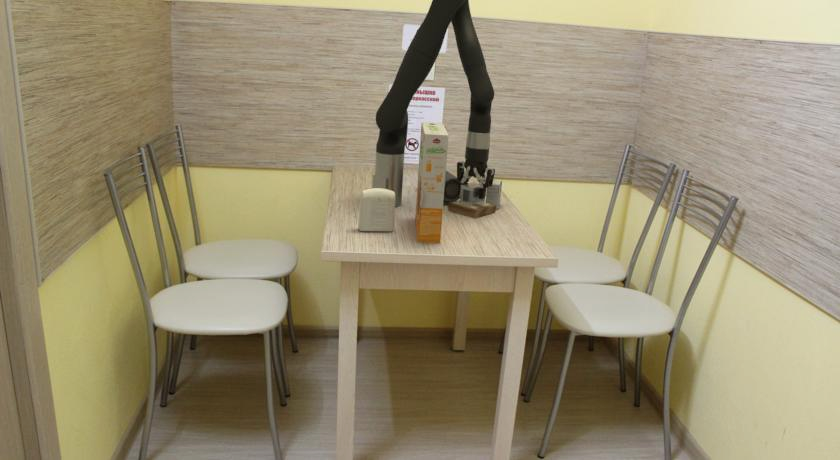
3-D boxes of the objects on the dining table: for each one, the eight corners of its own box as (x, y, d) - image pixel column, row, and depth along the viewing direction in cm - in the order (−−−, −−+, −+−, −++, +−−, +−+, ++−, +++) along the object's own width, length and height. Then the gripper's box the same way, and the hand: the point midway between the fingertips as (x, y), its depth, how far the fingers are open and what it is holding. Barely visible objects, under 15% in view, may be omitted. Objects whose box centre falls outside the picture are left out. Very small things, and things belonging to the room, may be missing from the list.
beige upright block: (392, 227, 198) (394, 186, 194) (395, 232, 194) (397, 190, 190) (357, 228, 195) (359, 186, 192) (359, 232, 191) (361, 190, 188)
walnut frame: (474, 218, 214) (475, 209, 213) (448, 210, 221) (448, 202, 220) (495, 212, 222) (495, 204, 221) (468, 205, 229) (469, 197, 228)
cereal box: (415, 219, 208) (421, 122, 200) (435, 220, 209) (442, 123, 200) (417, 241, 187) (424, 134, 178) (440, 242, 187) (448, 135, 178)
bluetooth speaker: (464, 205, 229) (466, 176, 226) (438, 206, 226) (441, 176, 223) (439, 189, 249) (441, 162, 246) (416, 189, 246) (417, 162, 243)
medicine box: (497, 210, 225) (500, 184, 223) (484, 208, 226) (487, 183, 224) (500, 204, 233) (502, 180, 230) (487, 203, 234) (489, 178, 231)
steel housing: (471, 206, 216) (473, 188, 215) (459, 203, 219) (460, 185, 218) (484, 203, 221) (486, 185, 220) (472, 200, 225) (474, 182, 223)
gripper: (452, 143, 217) (448, 193, 221) (488, 150, 208) (483, 203, 212) (467, 141, 222) (462, 190, 227) (502, 148, 213) (497, 199, 218)
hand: (473, 196), depth 220 cm, fingers open, 6 cm apart
